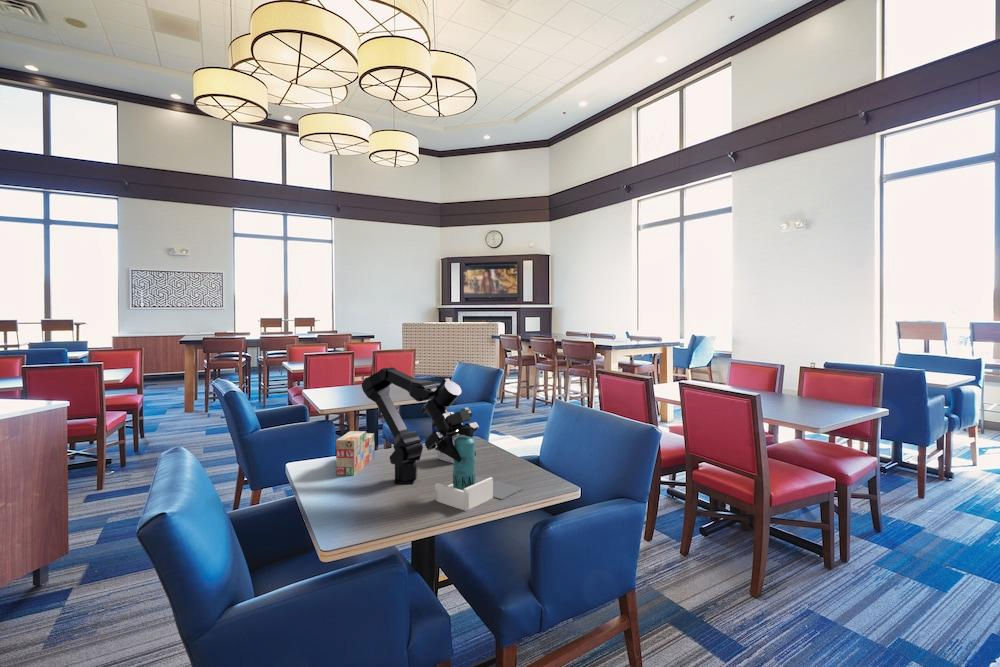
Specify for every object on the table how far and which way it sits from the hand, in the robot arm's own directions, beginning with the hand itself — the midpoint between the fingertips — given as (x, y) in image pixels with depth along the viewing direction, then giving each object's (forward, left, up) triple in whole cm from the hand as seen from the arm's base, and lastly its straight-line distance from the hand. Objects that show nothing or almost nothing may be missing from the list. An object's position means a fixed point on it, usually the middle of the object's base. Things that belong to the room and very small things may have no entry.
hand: (467, 458), depth 137 cm
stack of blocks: (-43, +31, -13) cm, 54 cm away
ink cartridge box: (-10, +39, -13) cm, 42 cm away
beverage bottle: (-1, +1, -11) cm, 11 cm away
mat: (+6, +11, -12) cm, 17 cm away
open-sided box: (-1, +1, -12) cm, 12 cm away
